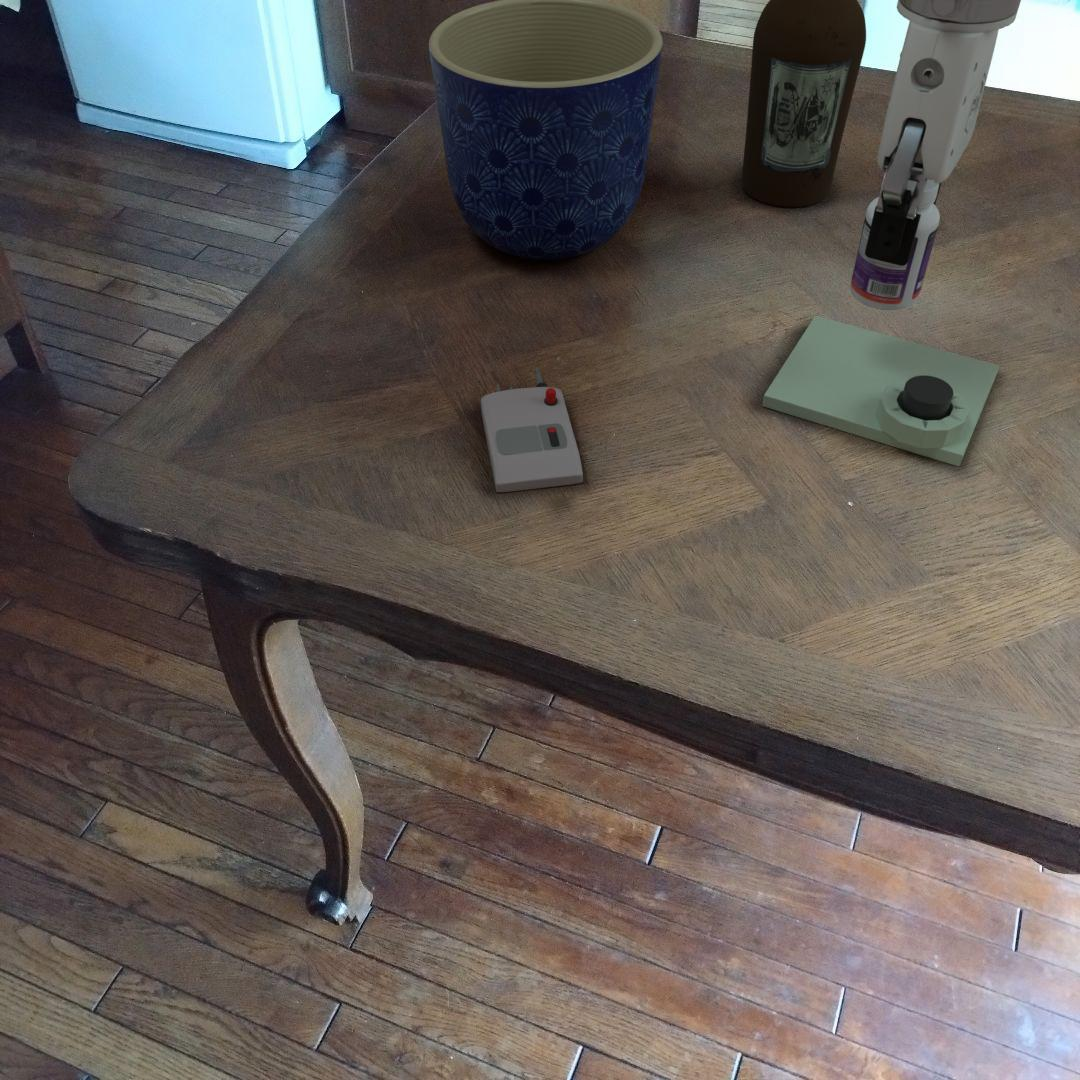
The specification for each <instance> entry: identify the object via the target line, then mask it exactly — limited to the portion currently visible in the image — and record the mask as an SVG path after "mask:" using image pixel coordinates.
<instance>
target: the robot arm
mask: <svg viewBox="0 0 1080 1080" xmlns="http://www.w3.org/2000/svg"><path fill="white" fill-rule="evenodd" d="M1021 2H1022V0H897V3H896V10H897V12H898V13H899V14H900V16H902V17H903V18H905V19H906V20H908V26H907V29H906V33H905V38H904V41H903V45H902V49H901V51H900V54H899V59H898V60H899V61H898V65H897V68H896V72H895V73H896V74H895V76H894V80H893V84H892V88H891V93H890V97H889V101H888V105H887V110H886V114H885V119H884V123H883V127H882V132H881V135H880V136H881V137H880V142H879V147H878V152H877V161H876V164H877V166H878V168H879V169H880V171H881V172H883V173H884V172H885V173H886V175H885V174H884V175H885V179H884V182H883V181H882V182H883V186H882V185H881V186H882V189H881V188H880V192H881V193H880V192H879V196H878V197H879V199H878V203H877V206H876V207H875V211H874V215H873V219H872V224H871V228H870V232H869V237H868V241H867V245H866V250H865V255H866V256H867V257H868V258H871V259H875V260H879V261H883V262H888V263H892V264H896V265H900V266H905V265H906V264H907V263H908V261H909V258H910V255H911V251H912V247H913V243H914V240H915V236H916V232H917V228H918V224H919V221H920V217H921V214H917V212H918V208H919V205H920V202H921V199H922V195H923V192H924V189H925V186H926V183H927V180H928V179H930V180H935V183H938V184H939V188H938V192H937V197H936V199H935V202H934V203H933V204H934V205H935V206H936V205H937V200H938V197H939V193H940V189H941V186H942V183H943V182H945V181H946V180H948V178H949V177H950V176H951V174H952V172H953V170H954V169H955V168H956V166H957V165H958V162H959V161H960V159H961V157H962V155H963V154H964V153H965V150H966V148H967V147H968V145H969V143H970V141H971V139H972V137H973V135H974V131H975V128H976V124H977V120H978V116H979V111H980V108H981V103H982V99H983V96H984V91H985V88H986V84H987V79H988V76H989V71H990V69H991V64H992V60H993V56H994V53H995V47H996V45H997V39H998V34H999V30H1001V29H1004V28H1006V27H1009V26H1011V25H1012V24H1013V23H1015V20H1016V18H1017V15H1018V11H1019V8H1020V5H1021ZM913 167H916V168H921V169H923V171H917V170H912V168H913ZM908 180H911V181H916V182H917V183H916V186H915V189H914V193H913V196H912V195H911V190H907V184H908Z"/></svg>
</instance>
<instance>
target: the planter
mask: <svg viewBox="0 0 1080 1080" xmlns="http://www.w3.org/2000/svg"><path fill="white" fill-rule="evenodd" d="M663 45H664V41H663V36H662V33H661V31H660V30H659V28H658V27H657V26H656V25H655V24H654V22H652V20H650V19H649V18H647V17H646V16H645V15H642V14H640V13H639V12H637V11H635V10H632V9H630V8H628V7H625V6H622V5H619V4H615V3H612V2H607V1H602V0H495V1H489V2H485V3H482V4H477V5H475V6H472V7H469V8H466V9H464V10H461V11H459V12H457V13H455V14H453V15H450V16H449V17H448V18H446V19H445V20H443V21H442V22H441V23H439V25H437V26H436V27H435V29H434V30H433V31H432V33H431V35H430V37H429V41H428V50H429V57H430V64H431V71H432V77H433V84H434V91H435V98H436V104H437V110H438V111H437V112H438V117H439V124H440V131H441V136H442V137H441V138H442V143H443V152H444V158H445V164H446V171H447V176H448V181H449V184H450V188H451V193H452V195H453V198H454V201H455V203H456V206H457V207H458V210H459V212H460V214H461V216H462V218H463V220H464V221H465V223H466V224H467V225H468V226H469V228H470V229H471V230H472V231H473V232H474V233H475V234H476V235H477V236H478V237H479V238H480V239H481V240H483V241H484V242H485V243H487V244H488V245H489V246H491V247H493V248H494V249H496V250H498V251H501V252H503V253H506V254H508V255H512V256H514V257H517V258H522V259H527V260H536V261H556V260H564V259H571V258H574V257H578V256H581V255H584V254H587V253H589V252H592V251H594V250H596V249H598V248H601V247H602V246H603V245H605V244H606V243H607V242H609V241H610V240H611V239H612V238H614V237H615V236H616V235H617V234H618V233H619V232H620V231H621V230H622V229H623V227H624V226H625V225H626V224H627V223H628V221H629V219H630V218H631V216H632V214H633V212H634V210H635V208H636V207H637V204H638V201H639V198H640V195H641V192H642V189H643V186H644V182H645V177H646V170H647V164H648V163H647V162H648V155H649V149H650V142H651V135H652V134H651V133H652V127H653V119H654V111H655V105H656V98H657V90H658V82H659V74H660V69H661V68H660V67H661V62H662V60H661V59H662V52H663Z"/></svg>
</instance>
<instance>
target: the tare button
mask: <svg viewBox="0 0 1080 1080" xmlns="http://www.w3.org/2000/svg"><path fill="white" fill-rule="evenodd" d="M952 398H953V389H952V387H951V386H950V385H949V384H948V383H947V382H945V381H944V380H942V379H939V378H937V377H933V376H926V375H921V376H915V377H912V378H910V379H909V380H908V381H907V382H906V384H905V387H904V391H903V394H902V398H901V401H900V406H901V409H902V410H903V411H904V412H905V413H907V414H908V415H909V416H911V417H915V418H918V419H922V420H925V421H928V420H941V419H943V418H944V417H945V416H946V415H947V413H948V410H949V407H950V404H951V401H952Z"/></svg>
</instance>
